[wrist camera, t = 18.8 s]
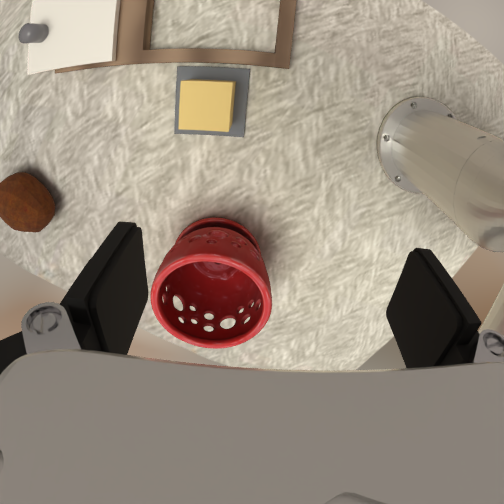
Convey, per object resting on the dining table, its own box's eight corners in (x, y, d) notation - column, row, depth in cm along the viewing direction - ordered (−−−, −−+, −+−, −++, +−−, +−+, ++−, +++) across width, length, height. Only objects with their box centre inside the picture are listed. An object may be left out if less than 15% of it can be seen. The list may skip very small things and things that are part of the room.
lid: (123, -20, 23) (108, -28, 19) (115, 60, 28) (99, 61, 24) (36, 1, 22) (17, -2, 19) (32, 74, 27) (12, 77, 24)
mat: (249, 69, 31) (249, 69, 31) (243, 136, 36) (243, 137, 35) (178, 66, 31) (177, 66, 31) (175, 132, 35) (174, 133, 35)
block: (235, 81, 32) (232, 82, 27) (232, 123, 34) (228, 131, 30) (190, 79, 32) (180, 80, 27) (188, 121, 34) (178, 129, 30)
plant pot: (262, 292, 47) (263, 354, 37) (173, 283, 47) (154, 343, 37) (275, 210, 41) (281, 264, 30) (171, 201, 40) (143, 251, 30)
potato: (62, 228, 42) (37, 255, 36) (10, 208, 40) (-17, 231, 34) (67, 177, 38) (38, 199, 31) (12, 159, 36) (-20, 177, 29)
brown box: (296, -18, 25) (298, -24, 23) (286, 68, 31) (289, 68, 29) (71, -7, 24) (61, -9, 22) (65, 72, 30) (54, 73, 28)
